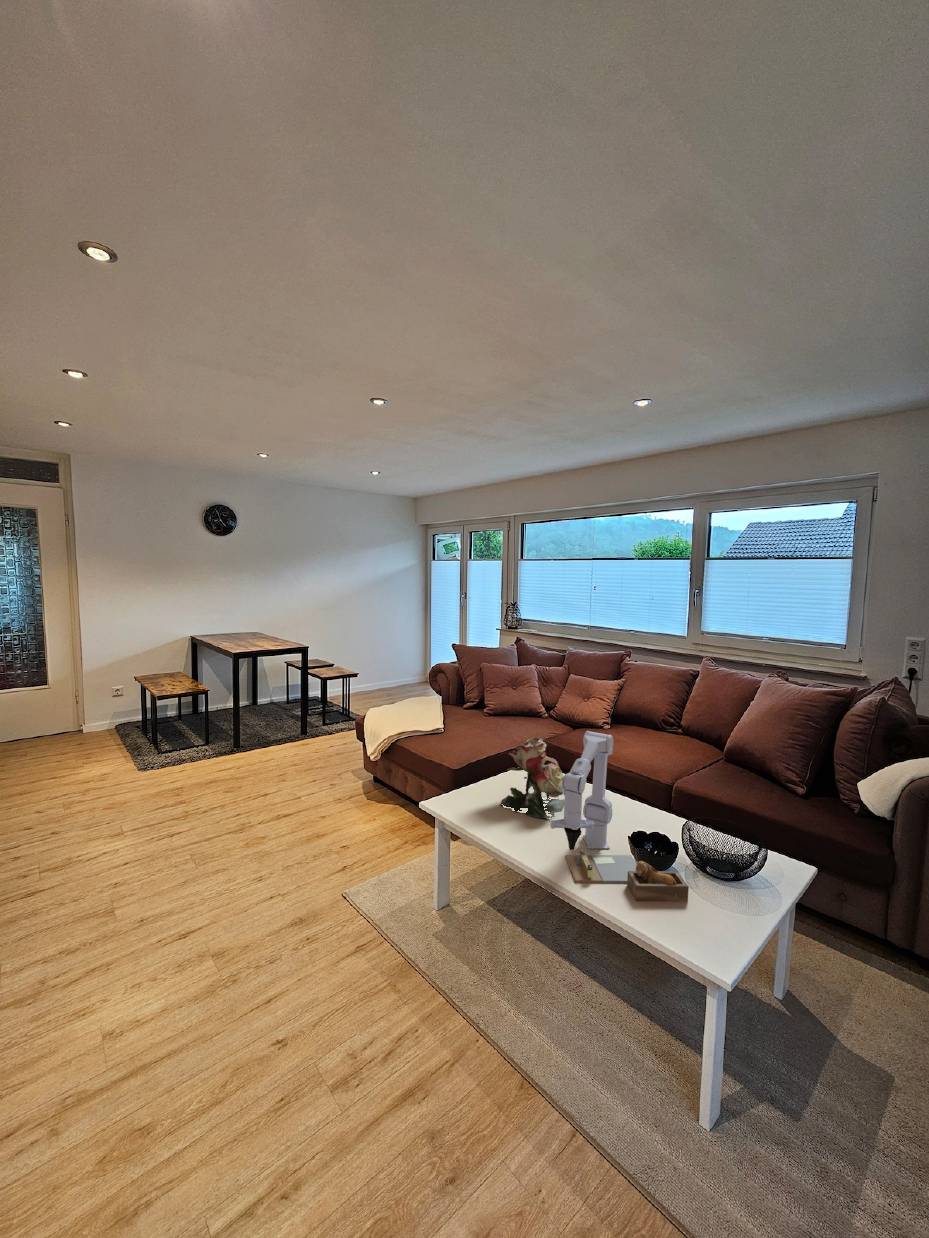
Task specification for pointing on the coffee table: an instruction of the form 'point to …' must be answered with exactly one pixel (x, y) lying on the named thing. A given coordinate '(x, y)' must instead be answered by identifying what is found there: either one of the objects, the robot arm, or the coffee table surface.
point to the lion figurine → (653, 875)
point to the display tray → (657, 888)
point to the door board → (602, 868)
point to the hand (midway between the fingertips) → (571, 848)
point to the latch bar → (587, 866)
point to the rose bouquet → (536, 780)
